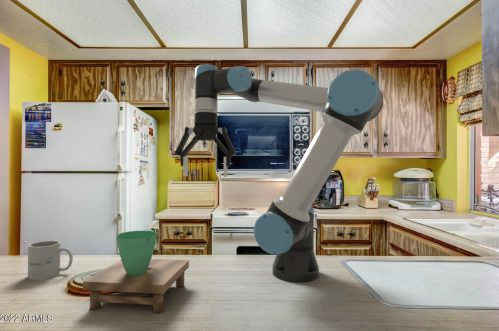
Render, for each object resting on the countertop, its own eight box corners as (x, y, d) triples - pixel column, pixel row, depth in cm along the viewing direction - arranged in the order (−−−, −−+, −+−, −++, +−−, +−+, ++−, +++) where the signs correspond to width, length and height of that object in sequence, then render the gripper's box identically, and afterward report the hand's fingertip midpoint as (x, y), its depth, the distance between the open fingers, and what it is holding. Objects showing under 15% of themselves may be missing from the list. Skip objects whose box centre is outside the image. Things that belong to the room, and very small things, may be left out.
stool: (188, 283, 92) (188, 260, 92) (163, 315, 72) (163, 285, 72) (124, 281, 94) (124, 257, 94) (82, 310, 74) (82, 281, 74)
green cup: (146, 280, 75) (146, 238, 75) (108, 278, 76) (108, 237, 76) (168, 262, 90) (168, 227, 90) (135, 261, 91) (136, 226, 91)
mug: (20, 280, 94) (21, 247, 94) (39, 270, 103) (40, 240, 103) (61, 280, 94) (61, 247, 94) (76, 270, 103) (77, 240, 103)
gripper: (244, 114, 106) (243, 176, 105) (173, 115, 108) (173, 175, 108) (241, 110, 98) (241, 177, 98) (165, 111, 101) (165, 176, 101)
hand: (205, 176), depth 103 cm, fingers open, 13 cm apart
